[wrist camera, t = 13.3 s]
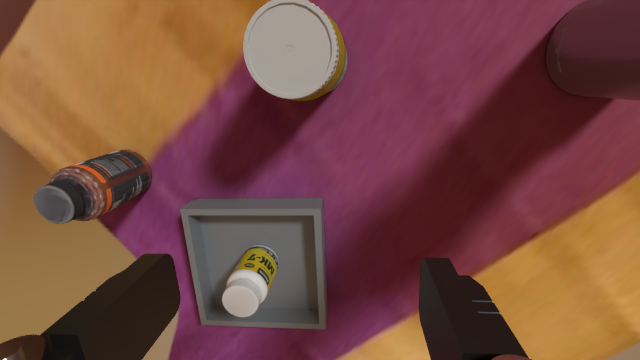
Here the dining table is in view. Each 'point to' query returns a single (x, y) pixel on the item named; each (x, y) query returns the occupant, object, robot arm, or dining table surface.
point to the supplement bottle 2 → (250, 281)
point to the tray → (267, 230)
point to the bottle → (294, 50)
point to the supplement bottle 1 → (93, 187)
